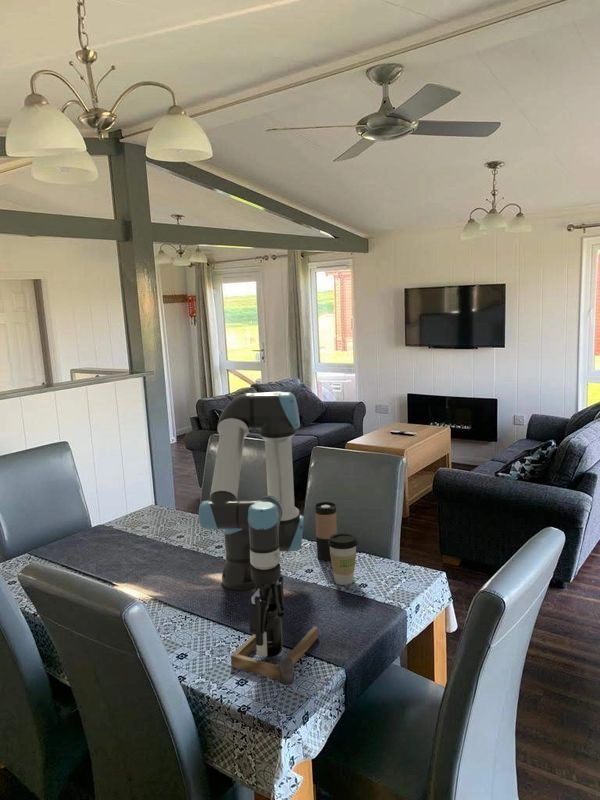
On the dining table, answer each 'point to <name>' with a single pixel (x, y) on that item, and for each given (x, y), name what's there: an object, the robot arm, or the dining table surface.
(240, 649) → the bay
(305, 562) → the dining table surface
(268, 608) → the supplement bottle
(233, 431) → the robot arm
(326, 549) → the travel mug
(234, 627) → the dining table surface
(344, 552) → the coffee cup
